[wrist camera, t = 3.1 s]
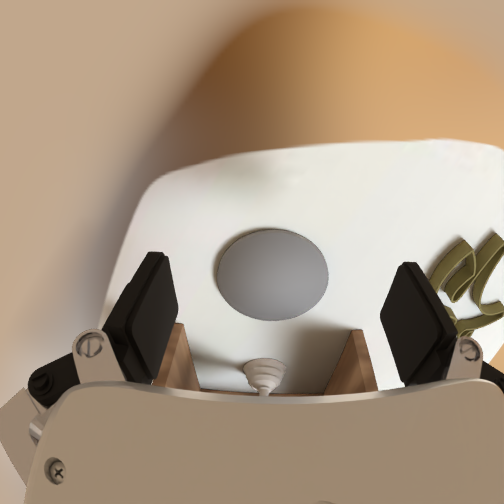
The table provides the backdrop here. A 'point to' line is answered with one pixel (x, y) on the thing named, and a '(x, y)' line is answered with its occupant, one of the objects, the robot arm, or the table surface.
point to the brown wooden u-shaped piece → (342, 382)
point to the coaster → (272, 275)
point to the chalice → (264, 374)
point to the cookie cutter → (470, 281)
